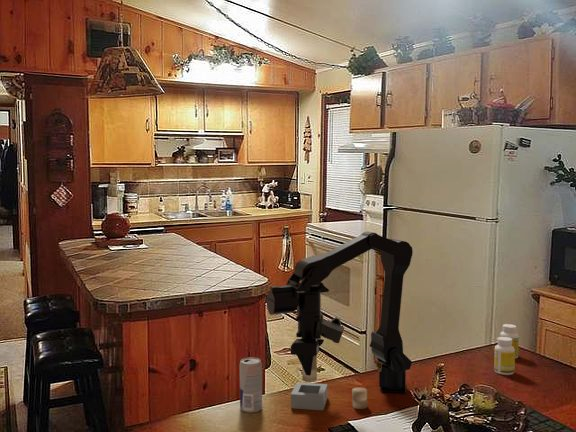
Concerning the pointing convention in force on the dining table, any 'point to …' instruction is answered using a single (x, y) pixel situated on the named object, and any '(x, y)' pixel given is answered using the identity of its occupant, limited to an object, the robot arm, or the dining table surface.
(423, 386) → the dining table surface
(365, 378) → the dining table surface
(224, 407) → the dining table surface
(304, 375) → the beige peg
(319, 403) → the hole block
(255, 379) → the energy drink
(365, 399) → the short pin
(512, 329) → the supplement bottle
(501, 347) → the supplement bottle
